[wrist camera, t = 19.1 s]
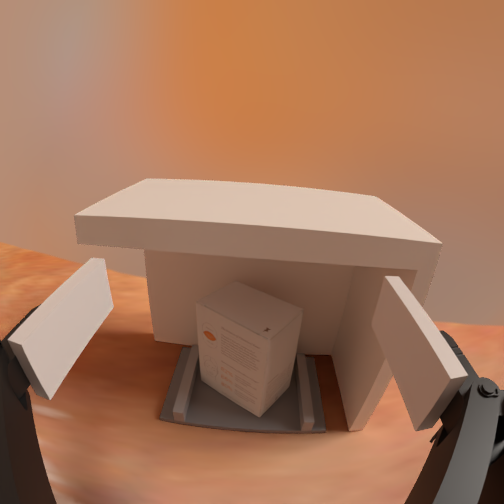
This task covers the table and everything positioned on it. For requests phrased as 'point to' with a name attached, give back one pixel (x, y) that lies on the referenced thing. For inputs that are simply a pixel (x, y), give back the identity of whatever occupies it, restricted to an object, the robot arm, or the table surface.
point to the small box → (247, 344)
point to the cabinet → (268, 283)
